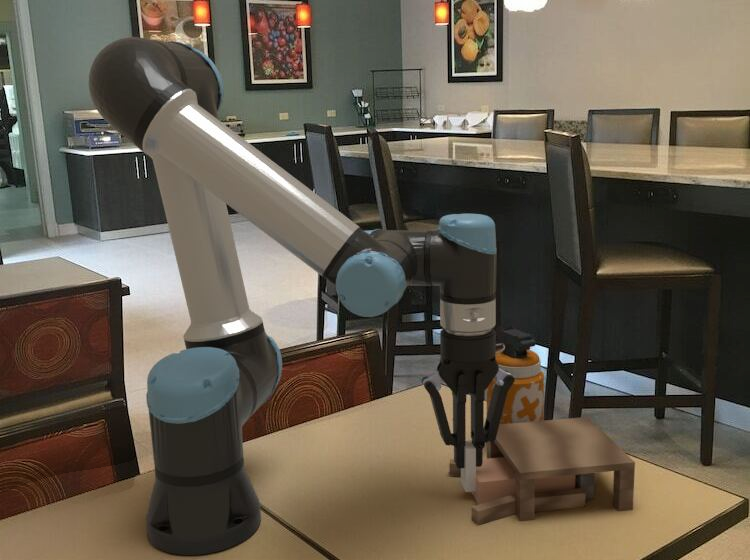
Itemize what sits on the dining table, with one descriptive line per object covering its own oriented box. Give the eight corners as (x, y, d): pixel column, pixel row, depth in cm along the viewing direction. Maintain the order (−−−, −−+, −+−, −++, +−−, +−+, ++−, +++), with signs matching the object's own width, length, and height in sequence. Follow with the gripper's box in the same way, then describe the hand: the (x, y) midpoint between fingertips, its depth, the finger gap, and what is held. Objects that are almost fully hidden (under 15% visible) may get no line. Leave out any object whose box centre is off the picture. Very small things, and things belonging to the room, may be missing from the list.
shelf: (474, 525, 105) (474, 477, 104) (447, 471, 121) (446, 428, 119) (632, 509, 108) (635, 462, 107) (586, 458, 124) (587, 416, 122)
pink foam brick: (478, 508, 111) (478, 482, 110) (466, 485, 117) (466, 460, 117) (574, 499, 112) (575, 473, 112) (557, 476, 119) (557, 452, 118)
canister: (506, 464, 123) (507, 341, 118) (469, 438, 132) (469, 323, 128) (553, 453, 126) (556, 332, 122) (514, 428, 136) (515, 316, 132)
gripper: (426, 339, 103) (429, 504, 109) (522, 332, 105) (520, 495, 110) (415, 324, 111) (418, 479, 116) (505, 317, 112) (504, 471, 117)
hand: (468, 486), depth 113 cm, fingers closed
